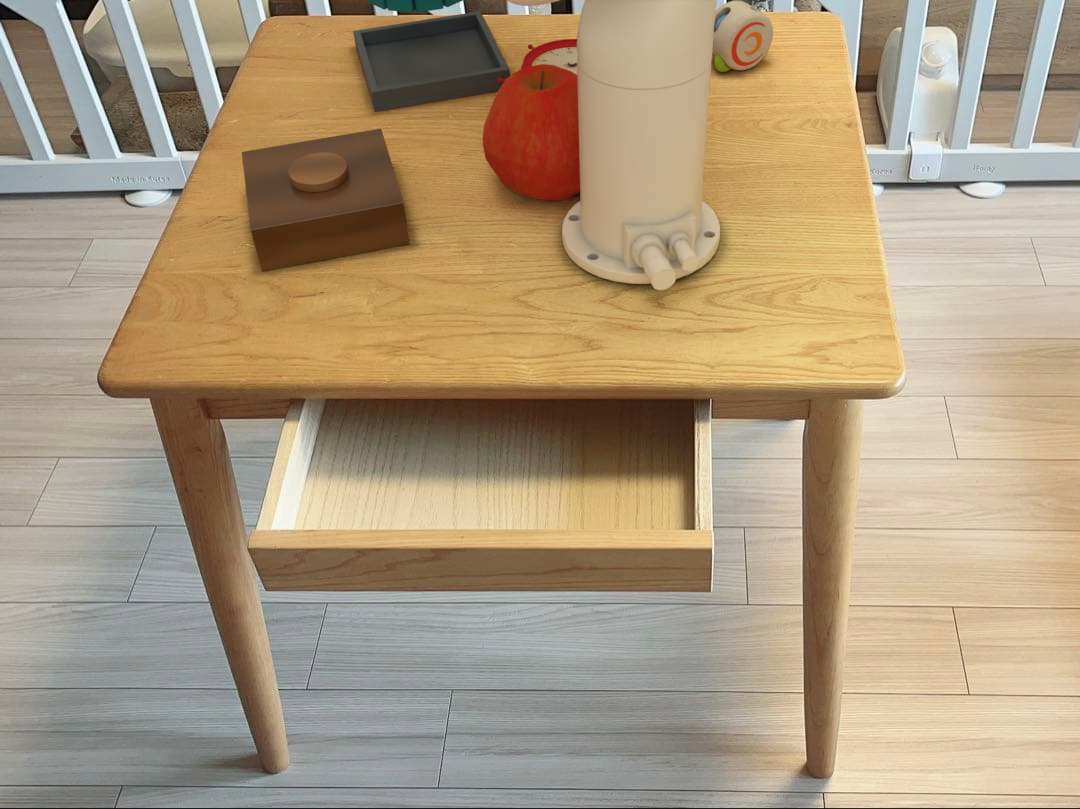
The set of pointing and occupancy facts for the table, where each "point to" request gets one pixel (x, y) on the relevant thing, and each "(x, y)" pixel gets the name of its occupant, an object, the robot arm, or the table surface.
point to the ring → (413, 4)
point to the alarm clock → (552, 55)
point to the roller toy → (740, 36)
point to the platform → (323, 199)
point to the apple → (536, 133)
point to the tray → (430, 60)
